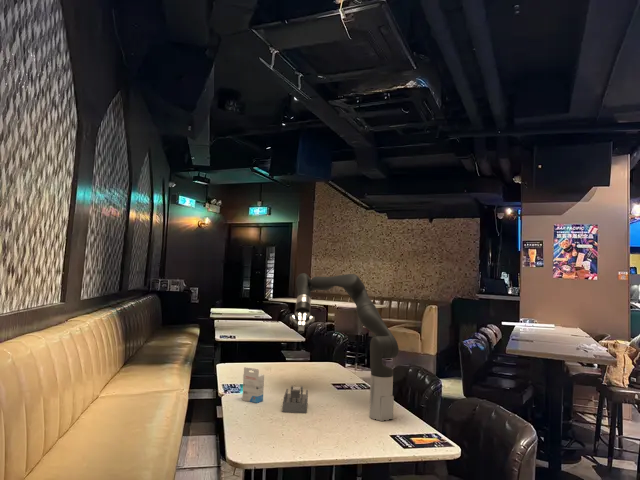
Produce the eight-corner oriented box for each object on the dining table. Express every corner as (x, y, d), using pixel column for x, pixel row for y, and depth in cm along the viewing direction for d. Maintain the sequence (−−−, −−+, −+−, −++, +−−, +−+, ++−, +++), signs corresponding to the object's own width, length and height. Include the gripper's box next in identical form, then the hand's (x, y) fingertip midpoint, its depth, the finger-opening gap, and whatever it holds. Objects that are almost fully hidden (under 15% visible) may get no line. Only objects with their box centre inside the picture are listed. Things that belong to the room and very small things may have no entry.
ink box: (263, 401, 209) (265, 367, 210) (257, 403, 204) (259, 369, 206) (248, 398, 213) (250, 365, 214) (241, 400, 208) (243, 366, 210)
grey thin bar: (293, 386, 207) (292, 391, 197) (300, 386, 207) (299, 391, 197) (293, 389, 207) (292, 394, 197) (300, 389, 207) (299, 394, 197)
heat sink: (285, 402, 208) (286, 382, 209) (307, 403, 208) (308, 383, 209) (282, 412, 193) (283, 390, 194) (306, 413, 193) (307, 391, 194)
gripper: (316, 311, 238) (314, 338, 225) (290, 309, 238) (287, 337, 225) (316, 301, 233) (314, 328, 220) (290, 300, 233) (287, 327, 220)
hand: (300, 332), depth 222 cm, fingers closed
